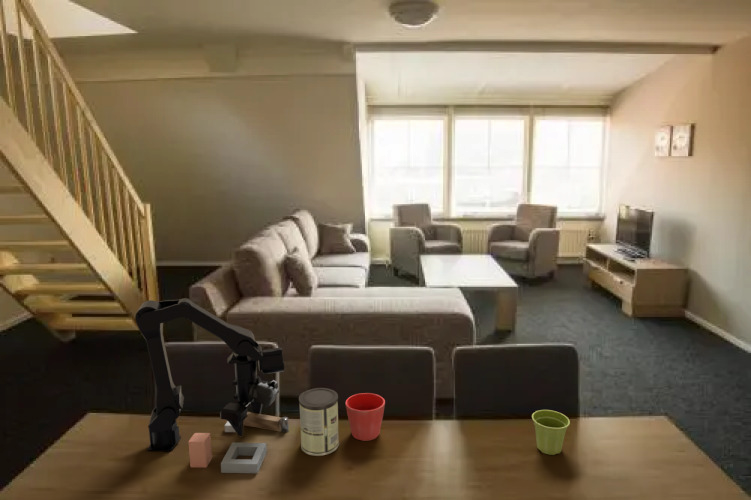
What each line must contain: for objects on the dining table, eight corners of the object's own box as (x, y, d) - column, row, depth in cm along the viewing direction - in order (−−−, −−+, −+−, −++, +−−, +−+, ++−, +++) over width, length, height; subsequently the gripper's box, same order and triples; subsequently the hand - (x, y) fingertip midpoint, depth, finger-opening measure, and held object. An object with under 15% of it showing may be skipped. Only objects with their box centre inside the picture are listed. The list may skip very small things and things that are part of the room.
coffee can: (305, 433, 137) (304, 386, 134) (341, 435, 136) (341, 388, 133) (296, 455, 127) (294, 405, 124) (335, 457, 126) (334, 407, 123)
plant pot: (528, 454, 127) (530, 424, 125) (531, 435, 135) (533, 407, 134) (567, 462, 123) (569, 431, 122) (567, 443, 132) (570, 413, 130)
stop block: (225, 432, 138) (224, 425, 137) (228, 426, 141) (228, 420, 140) (235, 432, 138) (235, 425, 137) (238, 426, 141) (238, 420, 140)
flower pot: (349, 422, 143) (349, 391, 141) (387, 424, 141) (387, 393, 140) (342, 442, 133) (341, 409, 131) (382, 445, 131) (382, 412, 129)
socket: (221, 472, 120) (220, 463, 119) (233, 451, 129) (232, 442, 128) (257, 473, 120) (257, 464, 119) (266, 451, 128) (266, 443, 128)
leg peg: (190, 467, 122) (188, 441, 121) (196, 457, 126) (194, 432, 125) (206, 467, 122) (204, 442, 121) (212, 457, 126) (210, 433, 125)
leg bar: (281, 427, 140) (281, 417, 140) (278, 431, 138) (277, 421, 138) (248, 421, 143) (247, 411, 143) (244, 425, 141) (243, 415, 141)
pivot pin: (280, 432, 138) (279, 420, 137) (281, 427, 140) (281, 416, 139) (287, 432, 138) (287, 420, 137) (289, 428, 140) (289, 416, 139)
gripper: (255, 394, 124) (258, 450, 127) (287, 365, 142) (289, 414, 145) (217, 389, 127) (220, 443, 130) (253, 361, 145) (255, 409, 148)
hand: (249, 427), depth 138 cm, fingers open, 9 cm apart
